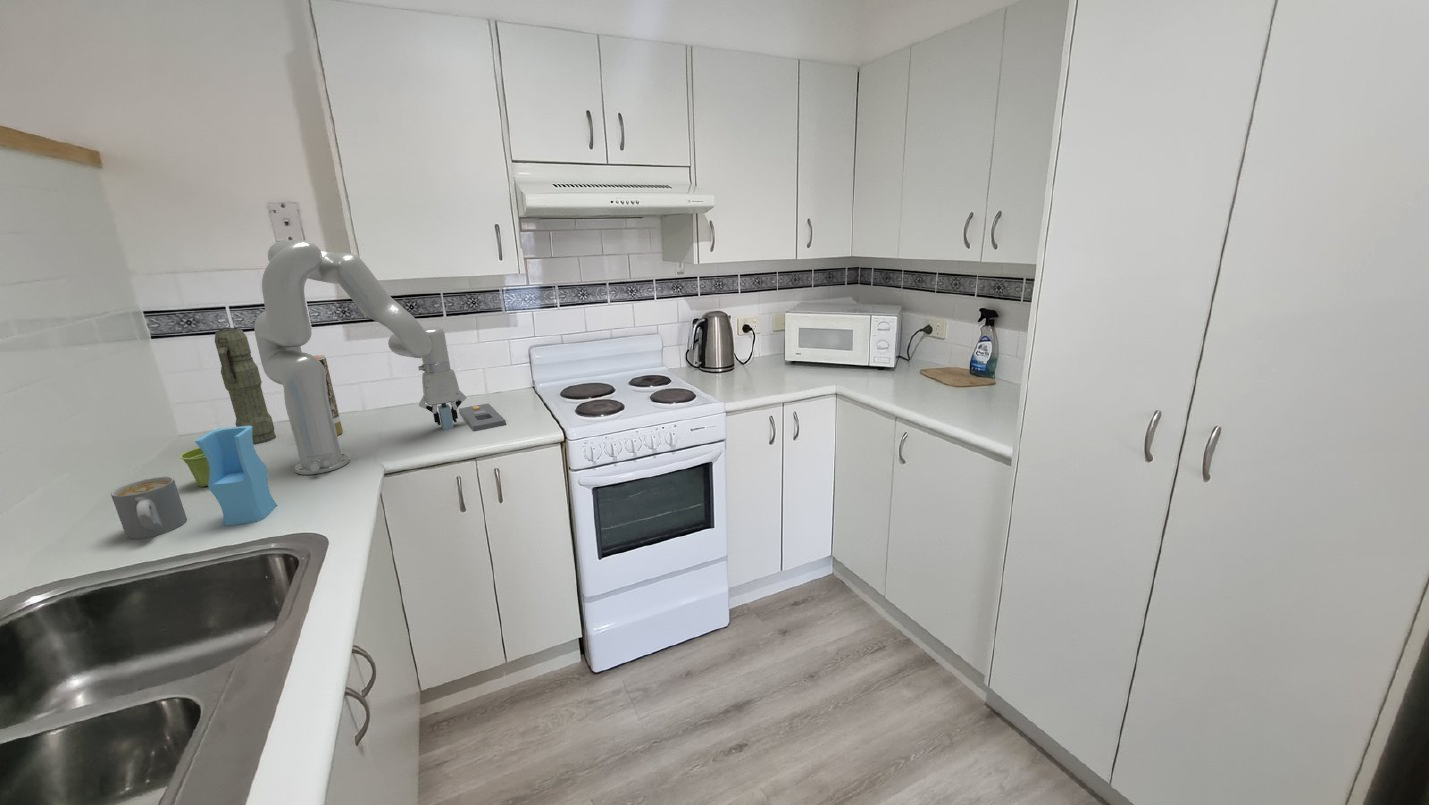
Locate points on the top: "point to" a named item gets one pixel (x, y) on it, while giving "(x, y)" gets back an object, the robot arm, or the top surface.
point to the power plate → (482, 417)
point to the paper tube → (331, 395)
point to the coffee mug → (149, 507)
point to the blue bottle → (445, 416)
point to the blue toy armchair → (237, 475)
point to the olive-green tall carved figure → (243, 384)
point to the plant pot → (197, 465)
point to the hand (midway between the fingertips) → (446, 422)
